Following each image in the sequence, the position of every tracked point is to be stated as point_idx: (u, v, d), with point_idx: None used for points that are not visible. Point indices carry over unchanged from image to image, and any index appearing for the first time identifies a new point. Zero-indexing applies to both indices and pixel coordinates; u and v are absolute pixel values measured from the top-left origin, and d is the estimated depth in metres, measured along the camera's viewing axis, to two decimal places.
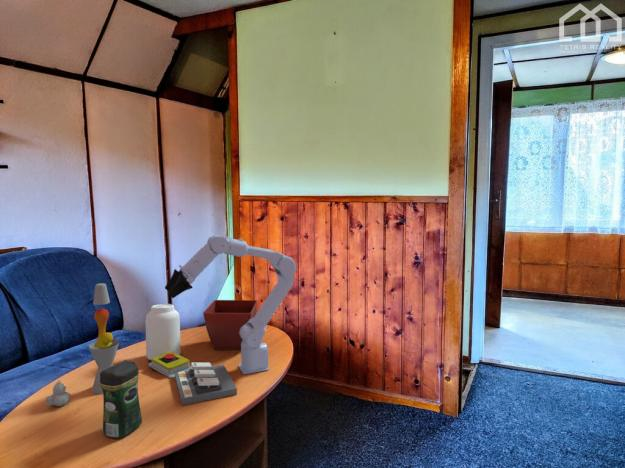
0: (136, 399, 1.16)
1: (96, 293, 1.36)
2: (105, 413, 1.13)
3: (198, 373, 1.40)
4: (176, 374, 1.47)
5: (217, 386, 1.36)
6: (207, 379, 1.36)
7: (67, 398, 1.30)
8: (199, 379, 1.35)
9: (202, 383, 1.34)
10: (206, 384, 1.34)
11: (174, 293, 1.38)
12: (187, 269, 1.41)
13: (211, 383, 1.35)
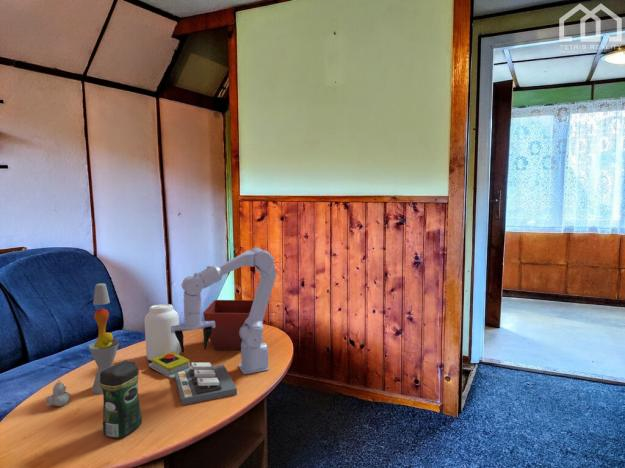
0: (136, 399, 1.16)
1: (96, 293, 1.36)
2: (105, 413, 1.13)
3: (198, 373, 1.40)
4: (176, 374, 1.47)
5: (217, 386, 1.36)
6: (207, 379, 1.36)
7: (67, 398, 1.30)
8: (199, 379, 1.35)
9: (202, 383, 1.34)
10: (206, 384, 1.34)
11: None
12: (200, 323, 1.45)
13: (211, 383, 1.35)
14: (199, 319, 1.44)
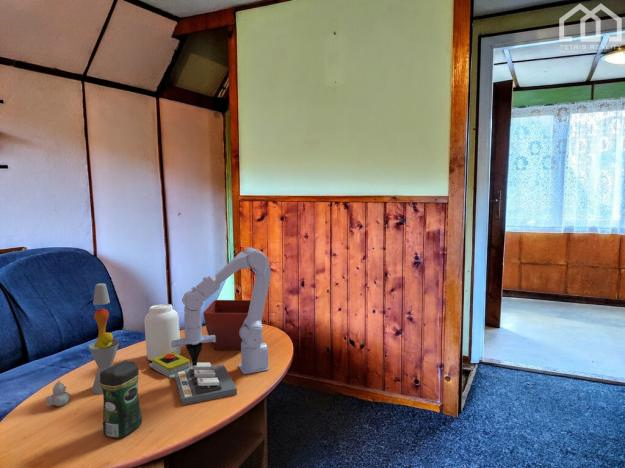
0: (136, 399, 1.16)
1: (96, 293, 1.36)
2: (105, 413, 1.13)
3: (198, 373, 1.40)
4: (176, 374, 1.47)
5: (217, 386, 1.36)
6: (207, 379, 1.36)
7: (67, 398, 1.30)
8: (199, 379, 1.35)
9: (202, 383, 1.34)
10: (206, 384, 1.34)
11: None
12: (200, 337, 1.45)
13: (211, 383, 1.35)
14: (199, 334, 1.44)
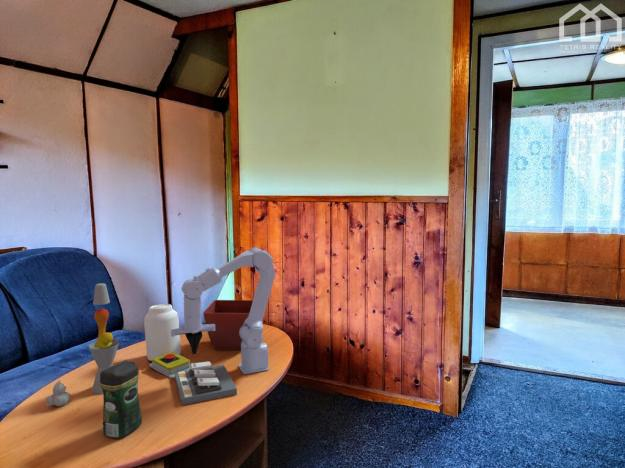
0: (136, 399, 1.16)
1: (96, 293, 1.36)
2: (105, 413, 1.13)
3: (198, 373, 1.40)
4: (176, 374, 1.47)
5: (217, 386, 1.36)
6: (207, 379, 1.36)
7: (67, 398, 1.30)
8: (199, 379, 1.35)
9: (202, 383, 1.34)
10: (206, 384, 1.34)
11: None
12: (200, 326, 1.45)
13: (211, 383, 1.35)
14: (199, 322, 1.44)
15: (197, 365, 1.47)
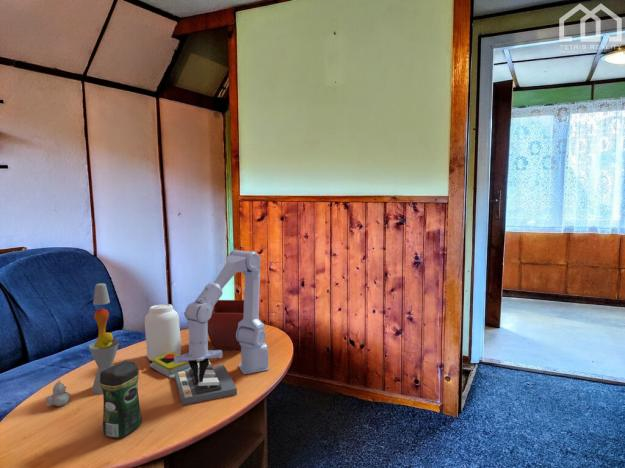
0: (136, 399, 1.16)
1: (96, 293, 1.36)
2: (105, 413, 1.13)
3: (198, 373, 1.40)
4: (176, 374, 1.47)
5: (217, 386, 1.36)
6: (207, 379, 1.36)
7: (67, 398, 1.30)
8: None
9: (202, 383, 1.34)
10: (206, 384, 1.34)
11: None
12: (206, 353, 1.33)
13: (211, 383, 1.35)
14: (205, 349, 1.33)
15: None
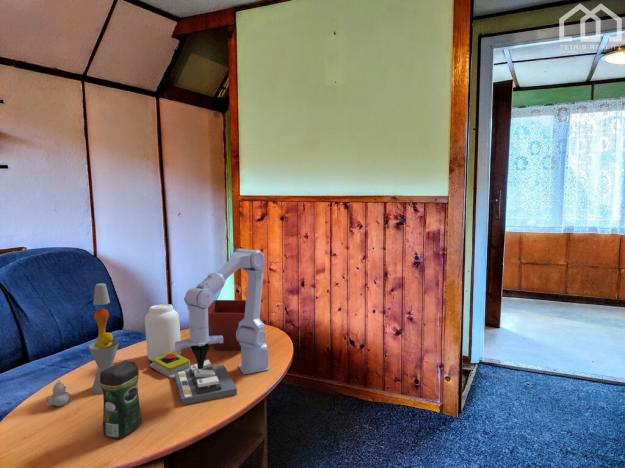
0: (136, 399, 1.16)
1: (96, 293, 1.36)
2: (105, 413, 1.13)
3: (198, 373, 1.40)
4: (176, 374, 1.47)
5: (217, 386, 1.36)
6: (206, 379, 1.36)
7: (67, 398, 1.30)
8: (198, 380, 1.35)
9: (202, 384, 1.34)
10: (206, 384, 1.34)
11: None
12: (207, 338, 1.33)
13: (211, 383, 1.35)
14: (206, 334, 1.32)
15: (196, 366, 1.47)
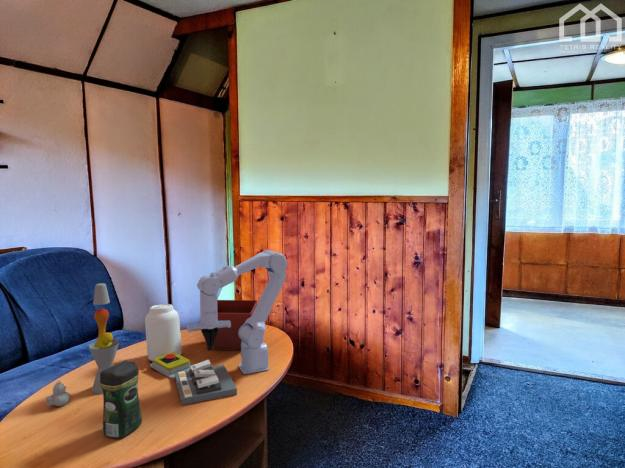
0: (136, 399, 1.16)
1: (96, 293, 1.36)
2: (105, 413, 1.13)
3: (198, 373, 1.40)
4: (176, 374, 1.47)
5: (217, 386, 1.36)
6: (206, 379, 1.36)
7: (67, 398, 1.30)
8: (198, 381, 1.35)
9: (201, 385, 1.34)
10: (206, 385, 1.34)
11: None
12: (216, 322, 1.45)
13: (210, 382, 1.35)
14: (215, 318, 1.45)
15: (196, 366, 1.47)
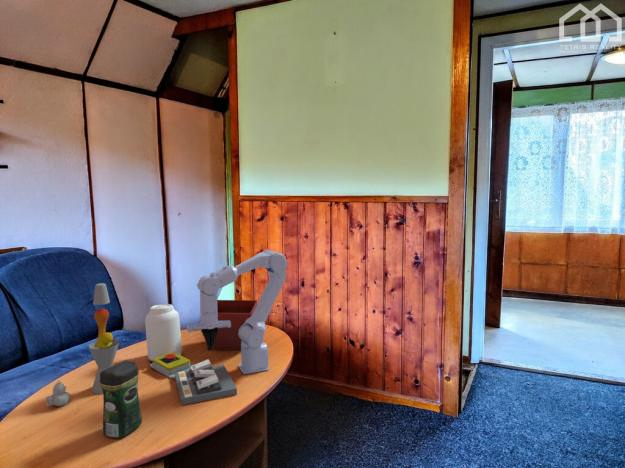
0: (136, 399, 1.16)
1: (96, 293, 1.36)
2: (105, 413, 1.13)
3: (198, 373, 1.40)
4: (176, 374, 1.47)
5: (217, 386, 1.36)
6: (206, 380, 1.36)
7: (67, 398, 1.30)
8: (198, 382, 1.35)
9: (201, 386, 1.34)
10: (206, 385, 1.34)
11: None
12: (216, 322, 1.45)
13: (210, 382, 1.35)
14: (215, 318, 1.45)
15: (196, 366, 1.47)
